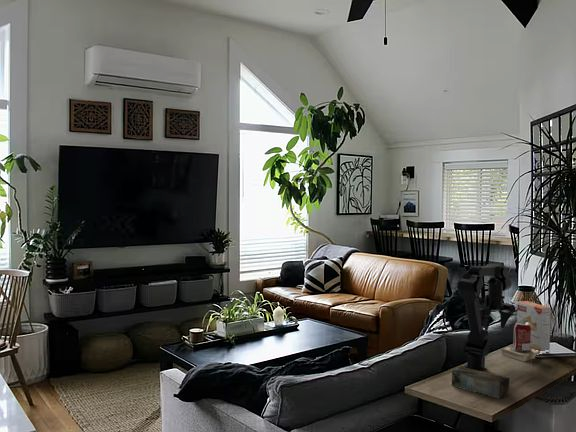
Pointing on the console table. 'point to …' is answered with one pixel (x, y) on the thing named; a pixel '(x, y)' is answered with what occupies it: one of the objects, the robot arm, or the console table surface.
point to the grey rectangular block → (480, 382)
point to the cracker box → (536, 323)
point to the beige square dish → (519, 353)
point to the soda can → (522, 336)
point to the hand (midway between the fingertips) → (494, 329)
